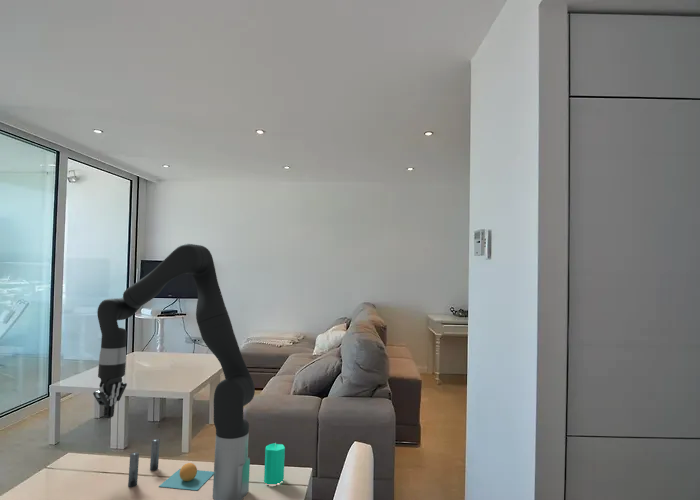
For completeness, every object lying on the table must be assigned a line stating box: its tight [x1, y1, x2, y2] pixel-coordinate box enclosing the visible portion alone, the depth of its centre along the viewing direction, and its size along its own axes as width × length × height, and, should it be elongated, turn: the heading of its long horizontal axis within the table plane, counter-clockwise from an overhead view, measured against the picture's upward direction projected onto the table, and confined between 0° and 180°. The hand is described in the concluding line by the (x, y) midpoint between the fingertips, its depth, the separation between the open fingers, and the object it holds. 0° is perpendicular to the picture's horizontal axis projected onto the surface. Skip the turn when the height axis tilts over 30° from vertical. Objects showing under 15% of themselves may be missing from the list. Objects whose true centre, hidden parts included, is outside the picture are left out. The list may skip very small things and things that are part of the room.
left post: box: [127, 451, 140, 488], centre depth 127 cm, size 2×2×9 cm
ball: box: [179, 462, 198, 481], centre depth 131 cm, size 5×5×5 cm
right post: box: [149, 438, 161, 472], centre depth 138 cm, size 2×2×9 cm
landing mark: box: [158, 468, 214, 492], centre depth 131 cm, size 12×12×1 cm
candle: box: [263, 441, 286, 484], centre depth 132 cm, size 6×6×12 cm
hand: (108, 417), depth 135 cm, fingers closed
